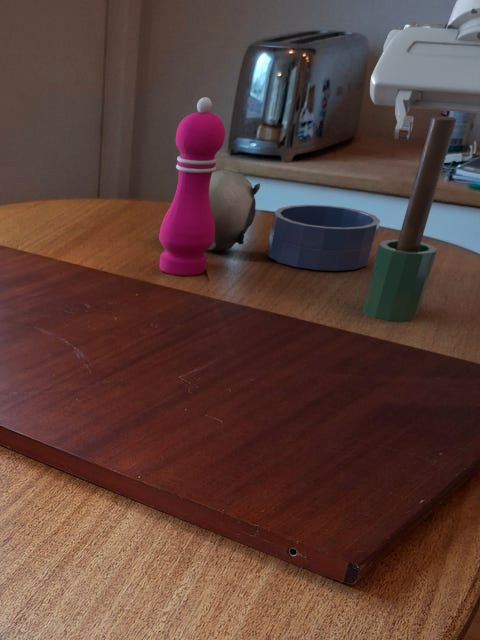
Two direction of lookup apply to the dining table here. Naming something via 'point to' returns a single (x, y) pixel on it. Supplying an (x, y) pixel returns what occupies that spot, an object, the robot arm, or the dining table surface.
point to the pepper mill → (192, 194)
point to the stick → (426, 183)
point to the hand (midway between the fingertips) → (445, 139)
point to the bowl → (322, 237)
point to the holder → (398, 282)
